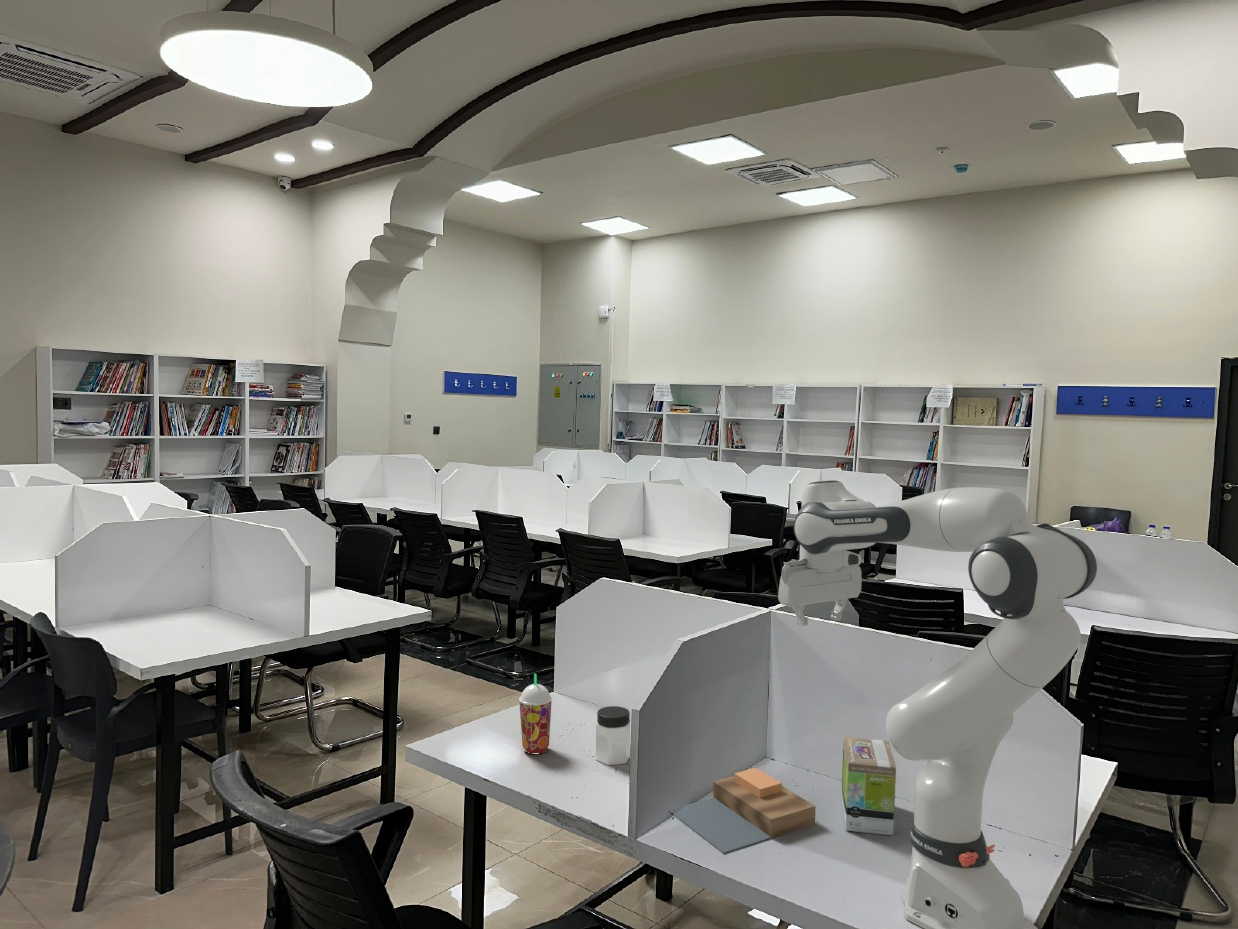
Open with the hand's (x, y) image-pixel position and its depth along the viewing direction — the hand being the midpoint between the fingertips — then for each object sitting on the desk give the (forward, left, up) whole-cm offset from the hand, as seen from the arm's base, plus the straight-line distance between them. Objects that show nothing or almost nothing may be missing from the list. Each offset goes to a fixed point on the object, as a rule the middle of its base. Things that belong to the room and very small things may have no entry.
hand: (819, 622), depth 176 cm
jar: (+49, +22, -43) cm, 69 cm away
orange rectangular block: (+12, +6, -39) cm, 41 cm away
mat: (+9, +19, -43) cm, 48 cm away
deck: (+9, +7, -43) cm, 45 cm away
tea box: (-4, -11, -43) cm, 45 cm away
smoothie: (+63, +37, -43) cm, 85 cm away
